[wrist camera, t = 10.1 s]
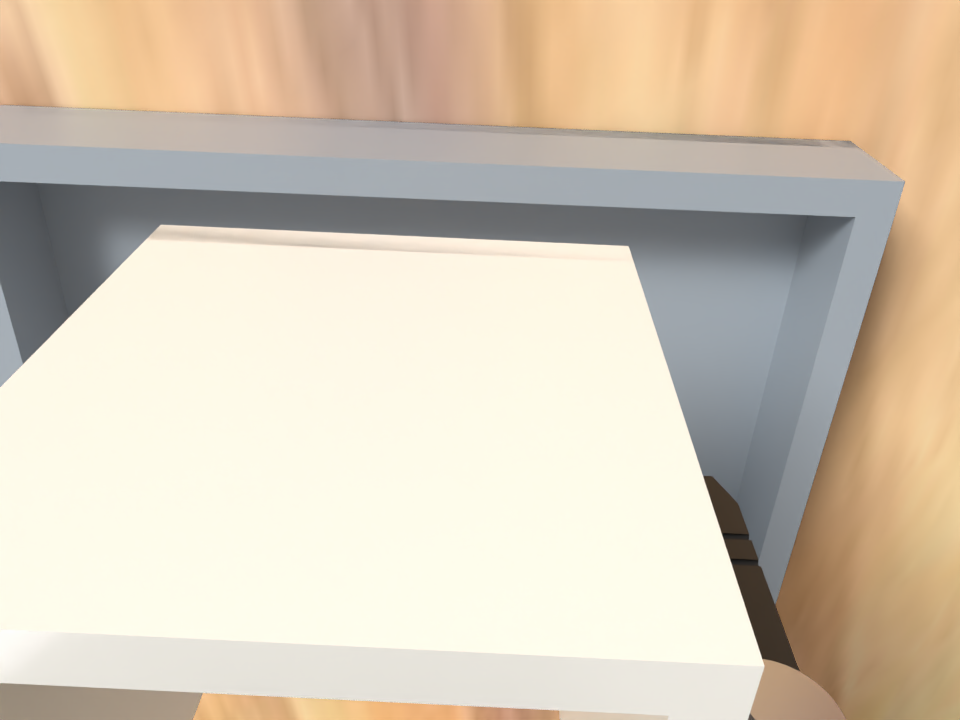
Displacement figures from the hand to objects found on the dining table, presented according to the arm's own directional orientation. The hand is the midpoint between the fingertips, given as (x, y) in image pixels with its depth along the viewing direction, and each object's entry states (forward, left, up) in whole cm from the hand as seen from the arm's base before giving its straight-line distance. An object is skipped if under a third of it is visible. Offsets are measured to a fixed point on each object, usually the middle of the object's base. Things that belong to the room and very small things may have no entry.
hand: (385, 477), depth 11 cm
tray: (0, +5, -11) cm, 12 cm away
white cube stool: (0, 0, -1) cm, 1 cm away
